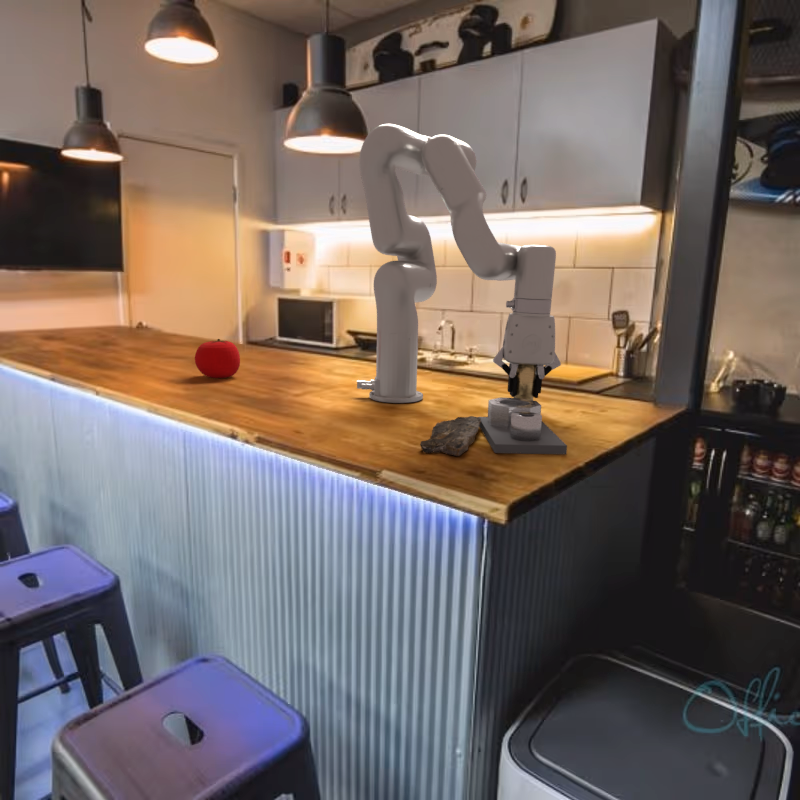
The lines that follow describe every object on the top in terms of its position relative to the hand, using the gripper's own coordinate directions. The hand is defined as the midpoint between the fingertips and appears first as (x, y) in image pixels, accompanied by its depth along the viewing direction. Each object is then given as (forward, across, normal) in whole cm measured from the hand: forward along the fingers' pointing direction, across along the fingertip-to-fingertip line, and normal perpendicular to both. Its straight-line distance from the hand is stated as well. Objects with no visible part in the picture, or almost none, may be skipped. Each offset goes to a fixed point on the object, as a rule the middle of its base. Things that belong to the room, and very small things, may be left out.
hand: (523, 395), depth 129 cm
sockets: (+3, -4, -16) cm, 17 cm away
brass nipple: (+2, 0, 0) cm, 2 cm away
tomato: (+7, -74, +40) cm, 85 cm away
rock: (+5, -16, -20) cm, 26 cm away
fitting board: (+4, -4, -17) cm, 18 cm away
